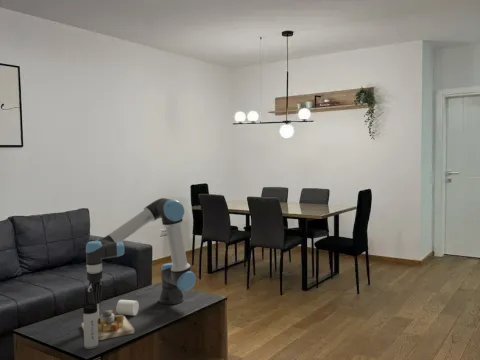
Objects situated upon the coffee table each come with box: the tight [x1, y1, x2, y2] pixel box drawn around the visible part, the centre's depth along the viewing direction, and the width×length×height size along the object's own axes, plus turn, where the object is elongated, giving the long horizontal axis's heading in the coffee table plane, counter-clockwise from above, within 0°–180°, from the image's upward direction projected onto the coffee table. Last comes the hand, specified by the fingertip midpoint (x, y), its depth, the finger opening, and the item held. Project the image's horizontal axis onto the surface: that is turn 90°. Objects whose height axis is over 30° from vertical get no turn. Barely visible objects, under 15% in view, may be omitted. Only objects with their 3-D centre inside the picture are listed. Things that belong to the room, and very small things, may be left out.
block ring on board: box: [80, 309, 135, 341], centre depth 225 cm, size 22×22×10 cm
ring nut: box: [97, 309, 123, 331], centre depth 224 cm, size 16×18×5 cm
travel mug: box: [82, 303, 99, 350], centre depth 206 cm, size 6×7×20 cm
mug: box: [115, 299, 140, 316], centre depth 249 cm, size 12×10×8 cm
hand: (96, 316), depth 227 cm, fingers closed
